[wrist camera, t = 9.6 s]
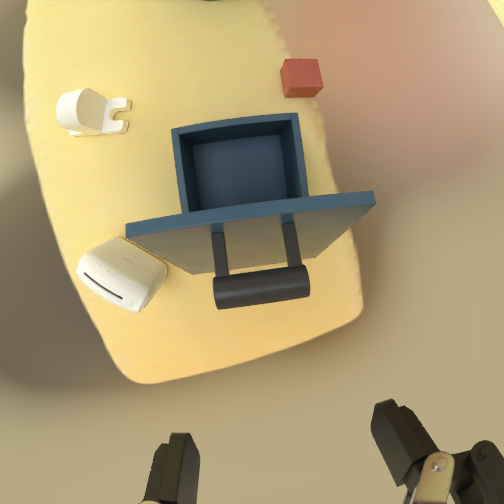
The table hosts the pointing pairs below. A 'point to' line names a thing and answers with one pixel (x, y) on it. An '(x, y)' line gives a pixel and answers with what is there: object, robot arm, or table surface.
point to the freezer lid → (253, 243)
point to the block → (301, 77)
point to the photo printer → (122, 274)
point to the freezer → (239, 161)
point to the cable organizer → (91, 113)
